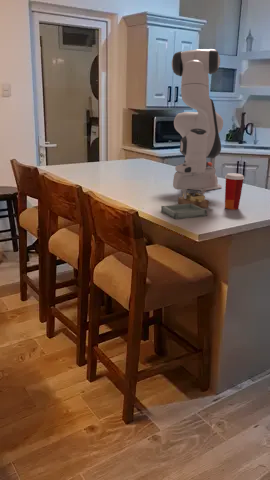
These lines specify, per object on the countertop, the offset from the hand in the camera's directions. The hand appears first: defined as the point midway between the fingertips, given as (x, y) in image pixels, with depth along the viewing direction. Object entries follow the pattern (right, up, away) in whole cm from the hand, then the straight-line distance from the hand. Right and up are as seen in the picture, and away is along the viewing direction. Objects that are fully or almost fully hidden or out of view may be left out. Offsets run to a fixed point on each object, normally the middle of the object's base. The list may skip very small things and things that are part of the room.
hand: (193, 197), depth 194 cm
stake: (0, -1, 0) cm, 1 cm away
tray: (-6, -8, -12) cm, 16 cm away
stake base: (0, -3, +1) cm, 4 cm away
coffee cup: (+17, -5, -1) cm, 17 cm away
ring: (0, -1, 0) cm, 0 cm away
